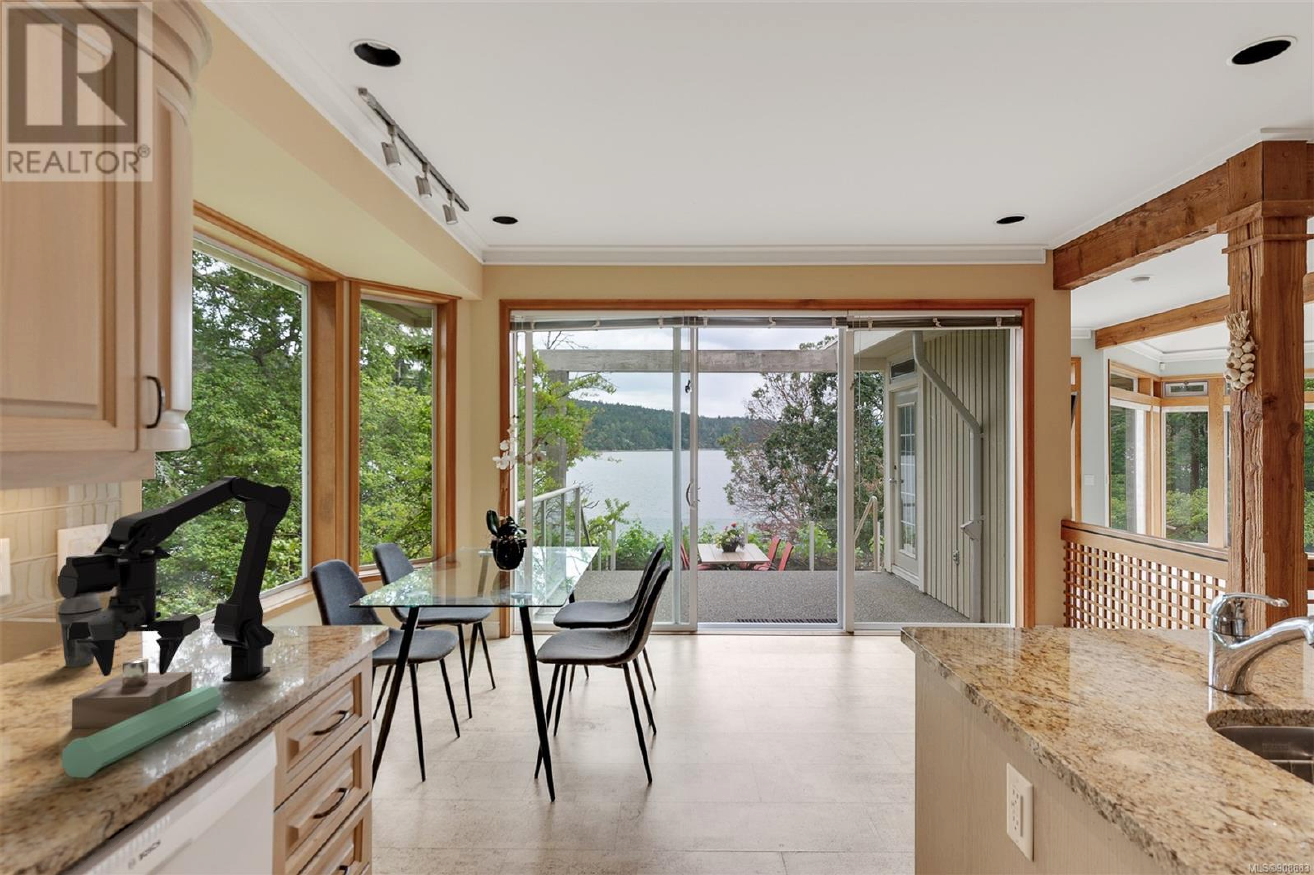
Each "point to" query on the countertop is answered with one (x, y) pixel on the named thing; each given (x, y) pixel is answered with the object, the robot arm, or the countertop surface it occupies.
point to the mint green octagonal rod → (137, 732)
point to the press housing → (126, 699)
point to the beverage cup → (70, 613)
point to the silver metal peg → (135, 672)
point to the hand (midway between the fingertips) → (135, 674)
